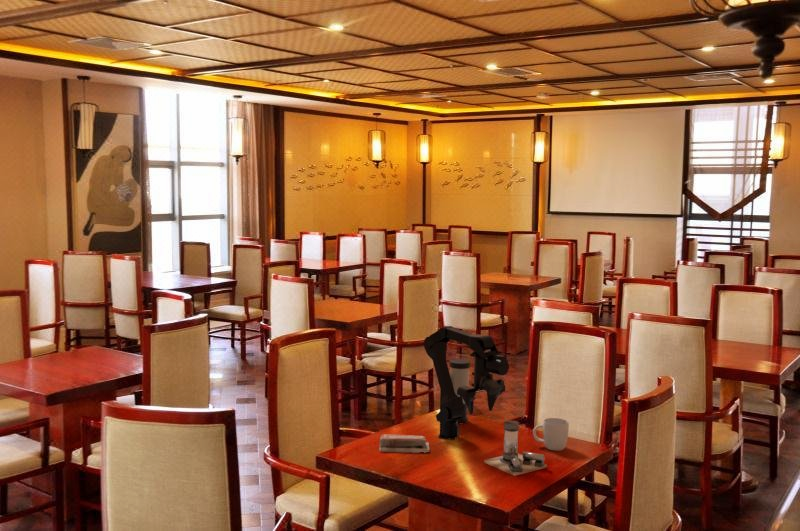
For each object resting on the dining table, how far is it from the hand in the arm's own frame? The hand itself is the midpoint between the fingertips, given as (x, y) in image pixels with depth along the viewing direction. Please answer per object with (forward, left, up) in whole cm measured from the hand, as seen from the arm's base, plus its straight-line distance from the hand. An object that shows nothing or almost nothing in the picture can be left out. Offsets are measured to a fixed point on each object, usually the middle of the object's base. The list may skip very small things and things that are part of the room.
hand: (480, 412), depth 277 cm
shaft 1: (+16, -19, -13) cm, 29 cm away
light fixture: (-17, +29, -13) cm, 36 cm away
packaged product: (-25, -11, -14) cm, 31 cm away
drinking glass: (+13, -12, -12) cm, 22 cm away
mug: (+24, +10, -13) cm, 29 cm away
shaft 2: (+21, -13, -13) cm, 28 cm away
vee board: (+16, -13, -13) cm, 24 cm away
